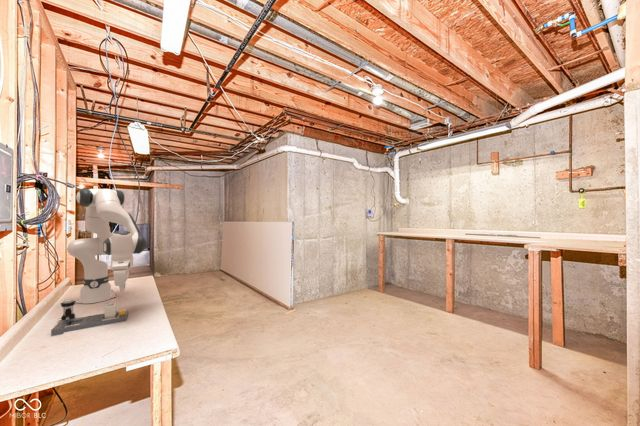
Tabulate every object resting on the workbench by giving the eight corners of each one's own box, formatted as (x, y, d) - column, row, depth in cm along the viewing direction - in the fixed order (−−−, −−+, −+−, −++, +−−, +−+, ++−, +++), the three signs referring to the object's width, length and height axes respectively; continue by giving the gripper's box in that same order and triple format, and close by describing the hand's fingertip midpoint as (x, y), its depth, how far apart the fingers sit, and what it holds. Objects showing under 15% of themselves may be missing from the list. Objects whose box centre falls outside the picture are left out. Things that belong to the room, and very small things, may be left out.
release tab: (120, 318, 130) (120, 310, 130) (125, 317, 132) (125, 309, 132) (119, 319, 128) (119, 311, 128) (125, 318, 130) (125, 310, 130)
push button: (55, 323, 126) (55, 303, 126) (59, 320, 131) (59, 300, 131) (74, 320, 130) (73, 300, 130) (76, 317, 134) (76, 298, 134)
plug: (106, 320, 128) (106, 303, 128) (116, 318, 130) (116, 301, 130) (104, 323, 125) (104, 305, 125) (115, 321, 127) (115, 304, 127)
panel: (60, 326, 123) (60, 320, 123) (128, 315, 136) (128, 309, 136) (51, 337, 112) (51, 330, 112) (125, 323, 126) (125, 317, 126)
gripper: (117, 260, 137) (117, 286, 137) (110, 267, 120) (111, 297, 120) (132, 259, 141) (132, 284, 141) (127, 265, 123) (127, 294, 123)
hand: (122, 290), depth 130 cm, fingers closed
